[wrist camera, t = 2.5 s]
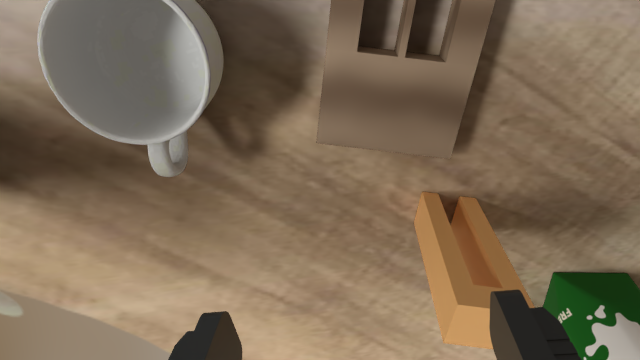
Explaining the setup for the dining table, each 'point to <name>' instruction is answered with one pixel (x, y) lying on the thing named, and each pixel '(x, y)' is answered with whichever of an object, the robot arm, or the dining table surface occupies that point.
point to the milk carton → (597, 313)
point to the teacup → (133, 70)
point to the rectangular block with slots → (399, 82)
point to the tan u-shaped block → (463, 268)
